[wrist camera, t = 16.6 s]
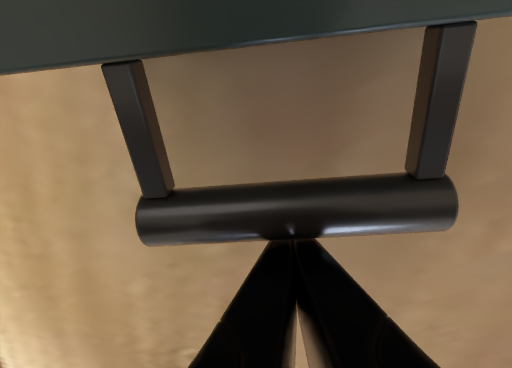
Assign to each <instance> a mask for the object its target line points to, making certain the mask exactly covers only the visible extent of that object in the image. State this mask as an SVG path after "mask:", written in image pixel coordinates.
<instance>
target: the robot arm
mask: <svg viewBox="0 0 512 368" xmlns="http://www.w3.org/2000/svg"><path fill="white" fill-rule="evenodd" d="M296 303H297V305H296ZM297 312H298V317H299V322H300V327H301V332H302V337H303V341H304V346H305V351H306V356H307V360H308V365H309V368H440V367H439V366H438V365H437V364H436V363H435V362H434V361H433V360H432V359H431V358H429V357H428V356H427V355H426V354H425V353H424V352H423V351H422V350H421V349H420V348H419V347H418V346H417V345H416V344H415V343H414V342H413V341H412V340H411V339H410V338H409V337H408V336H407V335H406V334H405V333H404V332H403V331H402V330H401V329H400V327H399V326H398V325H397V324H396V323H395V322H394V321H393V320H392V319H391V318H390V317H387V314H386V313H385V312H384V311H383V310H382V309H381V308H380V306H379V305H378V304H377V303H376V302H375V301H374V300H373V299H372V298H371V297H370V296H369V295H368V294H367V293H366V292H365V291H364V290H363V289H362V287H361V286H360V285H359V284H358V283H357V282H356V281H355V280H354V279H353V278H352V277H351V276H350V275H349V274H348V273H347V272H346V271H345V269H344V268H343V267H342V266H341V265H340V264H339V263H338V262H337V261H336V260H335V259H334V258H333V257H332V256H331V255H330V254H329V253H328V252H327V250H326V249H325V248H324V247H323V246H322V245H321V244H320V243H319V242H318V241H317V240H316V239H315V238H307V239H288V240H270V241H269V242H268V244H267V246H266V247H265V249H264V250H263V252H262V254H261V255H260V257H259V258H258V260H257V262H256V263H255V265H254V266H253V268H252V269H251V271H250V273H249V274H248V276H247V277H246V279H245V281H244V282H243V284H242V285H241V287H240V289H239V290H238V292H237V293H236V295H235V297H234V298H233V300H232V301H231V303H230V305H229V306H228V308H227V309H226V311H225V312H224V314H223V316H222V317H221V319H220V321H221V322H220V321H219V322H218V323H217V325H216V327H215V328H214V330H213V331H212V333H211V335H210V336H209V338H208V339H207V341H206V342H205V344H204V345H203V347H202V348H201V350H200V351H199V353H198V354H197V356H196V357H195V358H194V360H193V361H192V362H191V364H190V365H189V366H188V368H295V355H296V329H297Z"/></svg>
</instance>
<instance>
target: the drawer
mask: <svg viewBox="0 0 512 368" xmlns="http://www.w3.org/2000/svg"><path fill="white" fill-rule="evenodd" d="M508 16H512V0H0V76H1V75H10V74H18V73H27V72H36V71H44V70H53V69H61V68H70V67H79V66H87V65H96V64H102V65H101V68H102V71H103V75H104V78H105V81H106V84H107V87H108V90H109V93H110V96H111V99H112V102H113V105H114V108H115V111H116V114H117V117H118V120H119V123H120V126H121V129H122V132H123V136H124V139H125V142H126V145H127V148H128V151H129V154H130V157H131V160H132V163H133V166H134V169H135V172H136V175H137V178H138V181H139V184H140V187H141V190H142V193H143V194H142V196H141V197H140V199H139V201H138V203H137V207H136V214H135V222H136V229H137V233H138V236H139V238H140V240H141V242H142V243H143V244H145V245H146V246H149V247H156V246H175V245H194V244H213V243H231V242H250V241H269V240H288V239H307V238H325V237H344V236H363V235H382V234H400V233H419V232H438V231H446V230H448V229H450V228H451V227H452V226H453V225H454V223H455V221H456V219H457V215H458V196H457V192H456V189H455V186H454V184H453V182H452V181H451V179H450V178H449V177H448V175H446V174H445V169H446V164H447V160H448V155H449V151H450V146H451V142H452V137H453V133H454V128H455V123H456V119H457V114H458V110H459V105H460V101H461V96H462V92H463V87H464V83H465V78H466V74H467V69H468V65H469V60H470V55H471V51H472V46H473V42H474V37H475V33H476V28H477V22H476V21H474V20H482V19H491V18H500V17H508ZM422 26H428V27H426V30H425V34H424V41H423V48H422V55H421V61H420V68H419V75H418V82H417V88H416V95H415V102H414V109H413V115H412V122H411V129H410V136H409V142H408V149H407V156H406V163H405V170H406V171H407V172H402V173H388V174H374V175H360V176H346V177H332V178H319V179H305V180H291V181H277V182H263V183H249V184H235V185H221V186H208V187H194V188H180V189H173V188H174V187H175V184H174V180H173V176H172V172H171V169H170V165H169V161H168V157H167V153H166V150H165V146H164V142H163V138H162V134H161V131H160V127H159V123H158V119H157V116H156V112H155V108H154V104H153V100H152V97H151V93H150V89H149V85H148V81H147V78H146V74H145V70H144V66H143V63H142V61H141V60H139V59H147V58H156V57H164V56H173V55H182V54H190V53H199V52H207V51H216V50H225V49H233V48H242V47H250V46H259V45H268V44H276V43H285V42H293V41H302V40H311V39H319V38H328V37H336V36H345V35H354V34H362V33H371V32H379V31H388V30H397V29H405V28H414V27H422Z"/></svg>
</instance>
